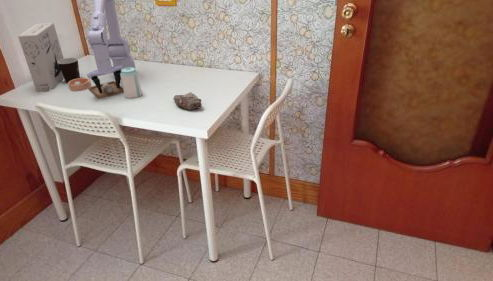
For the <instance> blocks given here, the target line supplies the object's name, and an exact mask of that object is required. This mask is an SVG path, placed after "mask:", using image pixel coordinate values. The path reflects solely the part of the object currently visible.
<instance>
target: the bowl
mask: <svg viewBox="0 0 493 281" xmlns="http://www.w3.org/2000/svg"><path fill="white" fill-rule="evenodd" d="M77 81H78V82H80V83H81V84H80V85H74V83H75V82H77ZM67 85H68V89H69V91H72V92H79V91H85V90H89V89H88V87H92V83H91V80H90V79H89V78H88V77H80V78H77V79H73V80H71V81H69V82H67Z"/></svg>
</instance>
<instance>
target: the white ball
mask: <svg viewBox="0 0 493 281" xmlns="http://www.w3.org/2000/svg"><path fill="white" fill-rule="evenodd" d="M107 83H108V82H105V84H104V83H102V84H103V86H102V88H103V90H105V91H106V88H107V87H108V86H110V85H109V84H107Z"/></svg>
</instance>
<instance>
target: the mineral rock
mask: <svg viewBox="0 0 493 281" xmlns="http://www.w3.org/2000/svg"><path fill="white" fill-rule="evenodd" d="M173 100H174V102H175V104H176V105H177V106H178V107H179V108H182V109H183V110H184V109H185V110H196V109H202V99H201V98H199V97H198V96H197V95H196V94H195V93H192V91H191V92H187V93H186V94H181V95H179V94H176V95H174V96H173Z"/></svg>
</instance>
